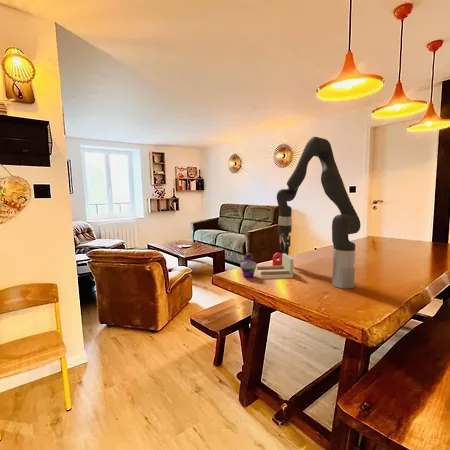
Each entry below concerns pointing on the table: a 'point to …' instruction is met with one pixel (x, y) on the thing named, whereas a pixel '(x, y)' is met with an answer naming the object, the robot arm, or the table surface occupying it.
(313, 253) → the table surface
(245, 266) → the potion bottle
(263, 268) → the cleat board
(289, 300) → the table surface
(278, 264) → the bracket
